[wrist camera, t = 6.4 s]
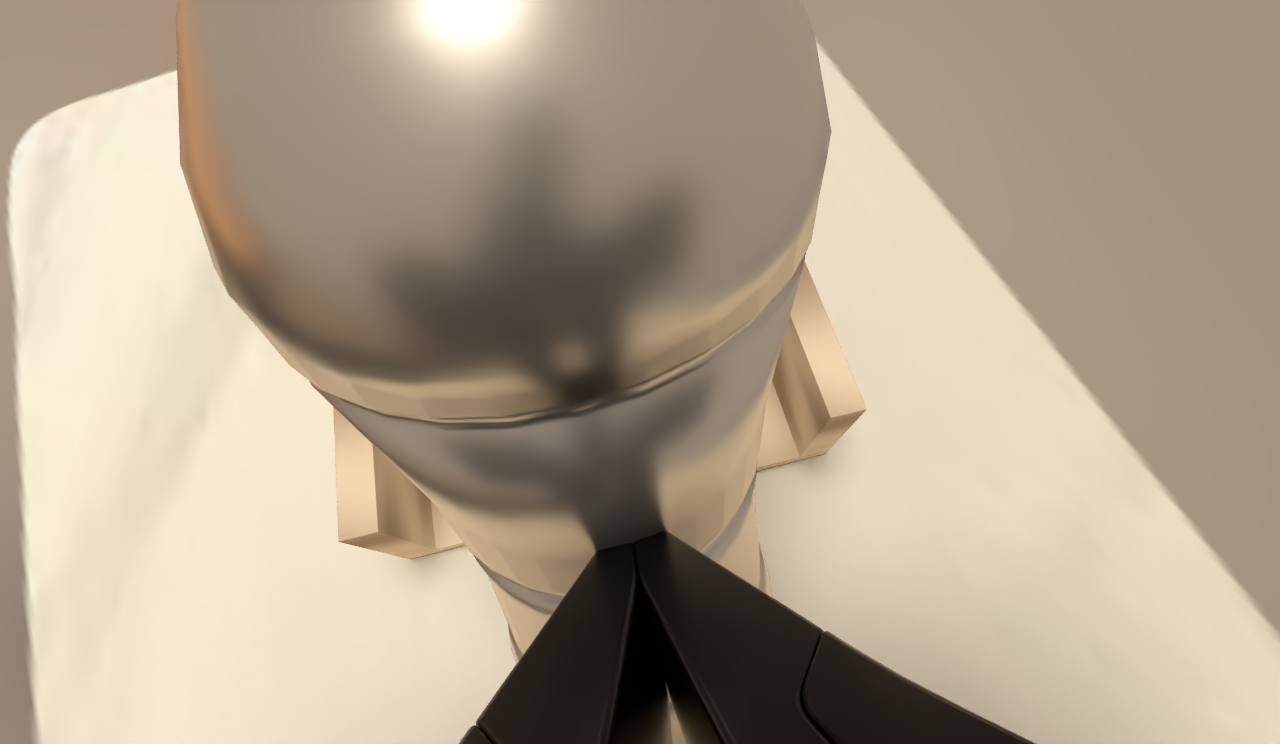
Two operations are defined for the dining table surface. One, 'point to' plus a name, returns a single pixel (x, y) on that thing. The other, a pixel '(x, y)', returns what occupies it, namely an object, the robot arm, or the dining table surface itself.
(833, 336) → the tray
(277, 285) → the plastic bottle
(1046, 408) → the dining table surface
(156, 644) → the dining table surface
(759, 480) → the dining table surface
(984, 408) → the dining table surface
